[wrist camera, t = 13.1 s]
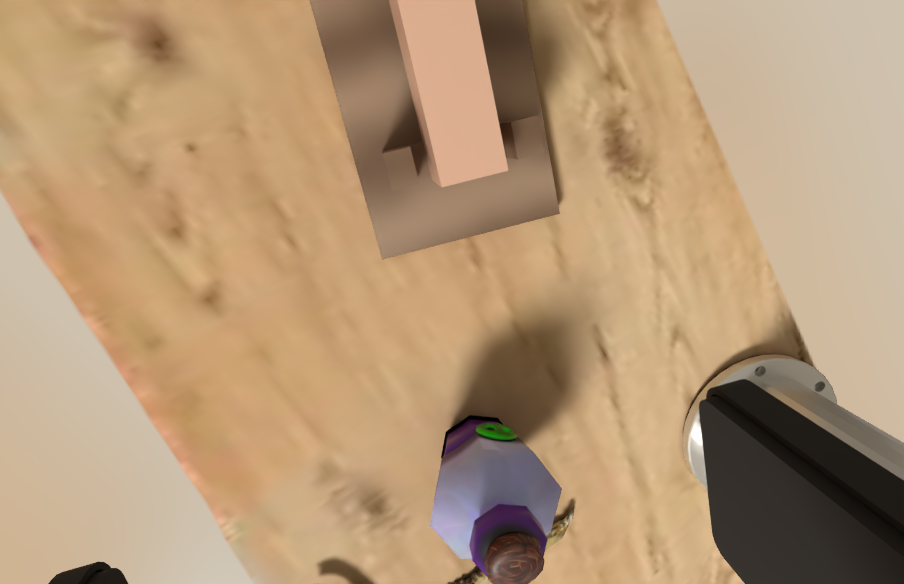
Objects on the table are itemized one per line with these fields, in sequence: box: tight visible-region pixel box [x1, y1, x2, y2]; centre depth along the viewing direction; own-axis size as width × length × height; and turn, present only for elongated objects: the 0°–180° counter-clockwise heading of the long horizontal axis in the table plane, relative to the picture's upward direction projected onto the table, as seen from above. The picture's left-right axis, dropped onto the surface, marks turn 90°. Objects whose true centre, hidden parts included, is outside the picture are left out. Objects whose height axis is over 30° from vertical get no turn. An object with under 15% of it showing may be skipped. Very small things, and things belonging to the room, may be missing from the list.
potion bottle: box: [430, 415, 562, 584], centre depth 35 cm, size 9×9×12 cm
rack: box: [310, 0, 560, 259], centre depth 30 cm, size 24×12×6 cm, turn 13°
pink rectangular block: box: [389, 0, 508, 187], centre depth 27 cm, size 16×4×5 cm, turn 13°
